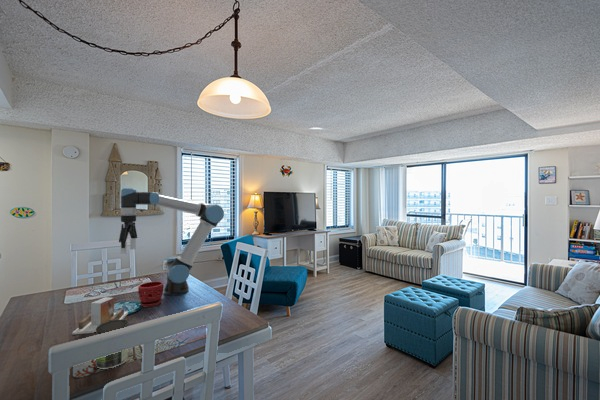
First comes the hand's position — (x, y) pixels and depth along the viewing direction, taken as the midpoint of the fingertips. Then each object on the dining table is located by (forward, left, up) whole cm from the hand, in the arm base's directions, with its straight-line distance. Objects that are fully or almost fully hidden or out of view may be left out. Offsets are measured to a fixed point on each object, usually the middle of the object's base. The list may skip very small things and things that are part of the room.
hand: (128, 251), depth 160 cm
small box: (+4, +22, -31) cm, 38 cm away
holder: (+4, +22, -32) cm, 39 cm away
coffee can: (-15, +59, -32) cm, 69 cm away
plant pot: (-12, 0, -32) cm, 34 cm away
